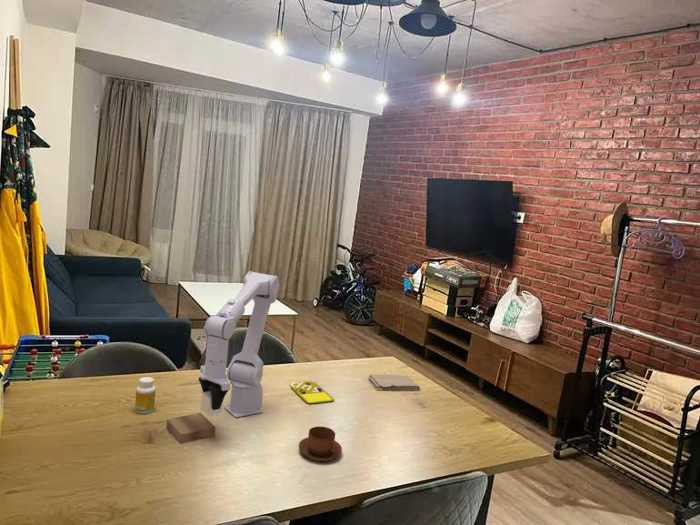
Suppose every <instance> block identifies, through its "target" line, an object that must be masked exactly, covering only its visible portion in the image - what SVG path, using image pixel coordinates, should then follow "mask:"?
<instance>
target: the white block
mask: <svg viewBox="0 0 700 525" xmlns="http://www.w3.org/2000/svg"><path fill="white" fill-rule="evenodd" d="M224 400H225V398H224V399H223V402H222V404H221V407H220V409H217V410H212V405H211V393H210V391H208V392H203V391H202V392H201V401H200V402H201V403H200V404H201V405H200V410H201V411H202V412H203V413H204V414H205V415H206V416H207V417H208V416H212V415H218V414H219V415H220V414H223V408H224Z"/></svg>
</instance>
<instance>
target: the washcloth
mask: <svg viewBox="0 0 700 525" xmlns="http://www.w3.org/2000/svg"><path fill="white" fill-rule="evenodd" d="M368 381H369V383H370V384H371V385H372V386H373V388H374V389H375V390H376V391H381V392H418V391H420V390H421V386H420V385H419V384H417V383H416V382H414V381H413V379H411V378H410V376H408V375H405V374H401V375H399V374H369V375H368Z"/></svg>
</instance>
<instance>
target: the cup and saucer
mask: <svg viewBox="0 0 700 525" xmlns="http://www.w3.org/2000/svg"><path fill="white" fill-rule="evenodd" d="M335 439H336V432H335V431H334V430H333V429H332V428H330V427H326V426H313V427H311V428H310V429H309V431H308V437H305V438H303V439H301V440H300V442H299V443H298V450H299V451H300V453H301V454H302V455H303V456H305V457H306V458H309V459H312V460H314V461H319V462H327V461H331V460H334V459H336V458H338V457H339V456H340V455H341V454H342V450H343V449H342V445H341V444H340V443H339V442H337V441H336V440H335Z"/></svg>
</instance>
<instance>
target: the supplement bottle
mask: <svg viewBox="0 0 700 525" xmlns="http://www.w3.org/2000/svg"><path fill="white" fill-rule="evenodd" d="M138 381H139V382H138V386H137V387H136V389H135V404H134V411H135V413H137V414H141V415H142V414H145V415H146V414H150V413H152V412H153V411H154V409H155V399H156V386H155V385H154V378H153V377H150V376H145V377H141V378H140V379H139V380H138Z"/></svg>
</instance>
